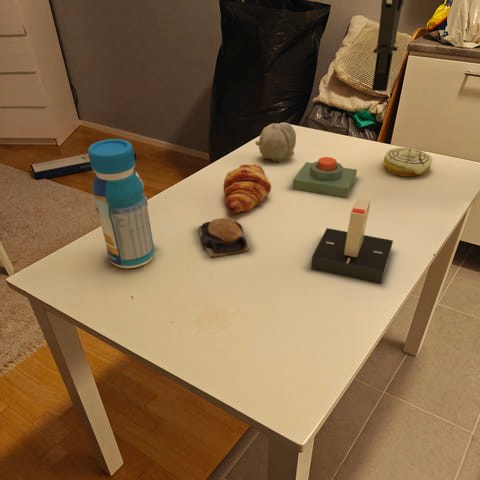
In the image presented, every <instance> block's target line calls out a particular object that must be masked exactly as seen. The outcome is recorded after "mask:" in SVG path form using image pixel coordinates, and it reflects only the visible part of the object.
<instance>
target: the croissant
mask: <svg viewBox="0 0 480 480" xmlns="http://www.w3.org/2000/svg"><path fill="white" fill-rule="evenodd" d="M222 185H223V195H224V201H225V207H226V208H227V209H228V211H230V212H231V213H233V214H234V213H235V214H237V213H240V212H247V211H250V210H252V209H253V208H254V207H255V206H257V205H259V204H260V203H261V202H262V201H263V200H264V198H265V197H267V196H268V195H269V194H270V192H271V190H272V183H271V181H270V180H269V178H268V177H267V175H266V173H265V170H264V169H263V168H262V166H261V165H257V164H253V163H252V164H242V165H240V166H238V167H237V168H235V169H233V170H230V171H229V172H228V171H227V173H226V176H225V177H224V181H223V184H222Z"/></svg>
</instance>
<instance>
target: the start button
mask: <svg viewBox="0 0 480 480" xmlns="http://www.w3.org/2000/svg"><path fill="white" fill-rule="evenodd" d="M317 161H318V166H317V168H318V169H319V170H323V171H333V170H335V169H336V162H337V161H338V160H337V159H336V158H335V157H330V156H322V157H320V158H318V160H317ZM337 163H338V162H337Z"/></svg>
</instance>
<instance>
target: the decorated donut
mask: <svg viewBox="0 0 480 480" xmlns="http://www.w3.org/2000/svg"><path fill="white" fill-rule="evenodd" d="M432 164H433V158H432V156H431V155H429V154H427V153H426V152H423V151H422V150H419V149H414V148H409V147H397V148H392V149H390V150H387V151H386V153H385V155H384V157H383V165H384V167H385V169H386V170H387V171H388V172H389V173H393V174H395V175H397V176H402V177H416V176H418V177H420V176H423V175H425V174H427V173H428V172H429V171H430V170H431V167H432Z"/></svg>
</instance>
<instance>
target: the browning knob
mask: <svg viewBox="0 0 480 480" xmlns="http://www.w3.org/2000/svg"><path fill="white" fill-rule="evenodd" d="M371 201H372V199H368V198H364V197H357V198H356V200H355V202H354V205H353V206H352V209H351V211H350V215H349V221H348V226H347V227H348V228H347V231H346V232H347V239H346V245H345V251H344V255H347V256H352V257H357V255H358V253H359V250H360V248H361V245H362V242H363V239H364V235H365V233H366V229H367V228H366V227H367V223H368V218H369V217H368V216H369V213H370V206H371Z"/></svg>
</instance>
